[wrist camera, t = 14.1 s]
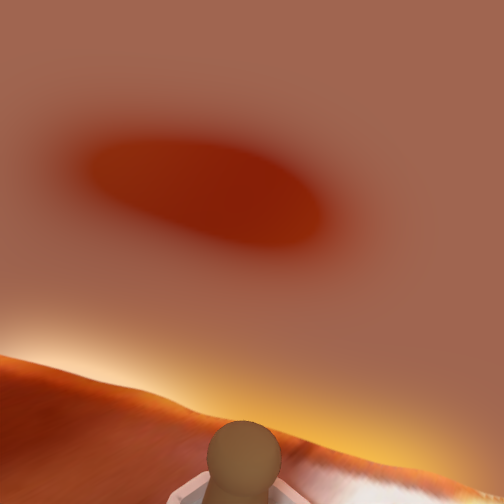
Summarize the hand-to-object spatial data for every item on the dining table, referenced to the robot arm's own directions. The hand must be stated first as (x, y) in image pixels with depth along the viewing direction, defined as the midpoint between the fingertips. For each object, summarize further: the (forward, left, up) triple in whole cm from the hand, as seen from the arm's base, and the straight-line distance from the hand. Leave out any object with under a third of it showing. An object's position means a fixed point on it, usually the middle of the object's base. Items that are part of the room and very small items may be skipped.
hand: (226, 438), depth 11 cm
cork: (-10, +15, -27) cm, 32 cm away
